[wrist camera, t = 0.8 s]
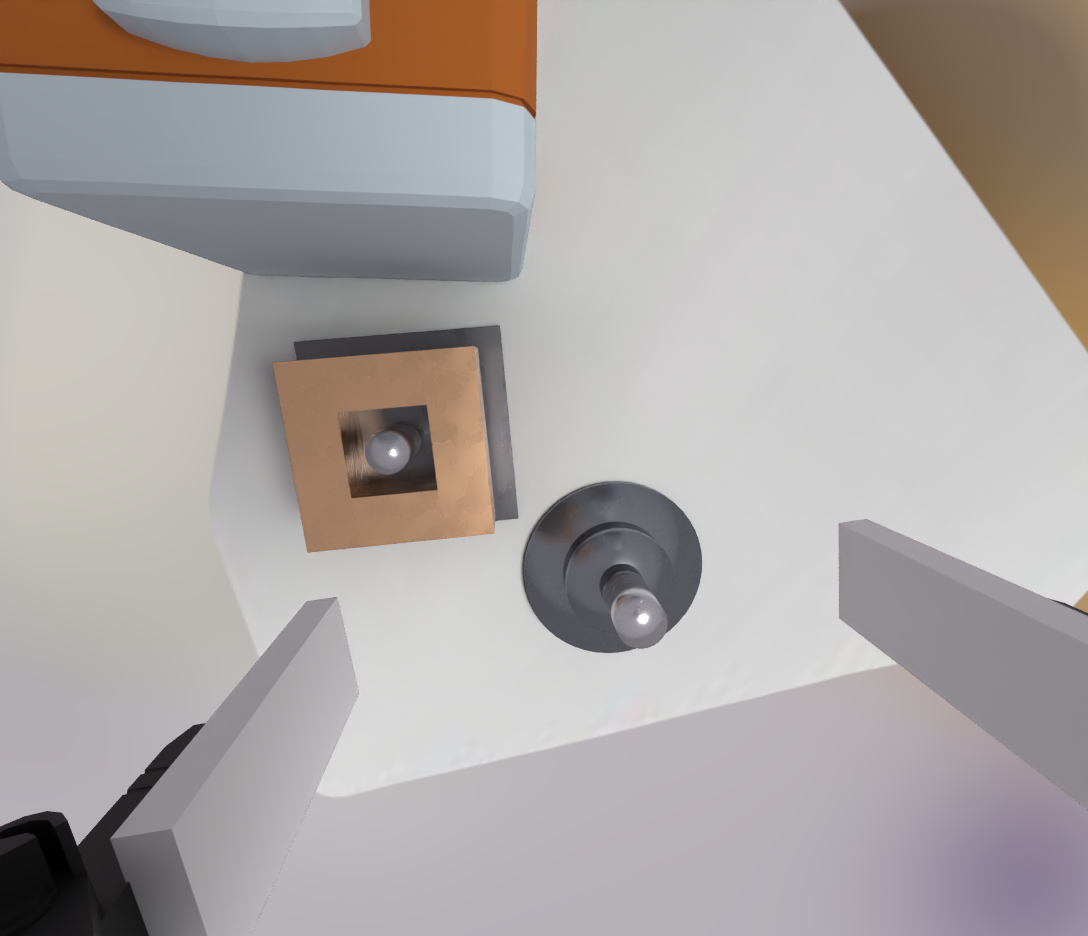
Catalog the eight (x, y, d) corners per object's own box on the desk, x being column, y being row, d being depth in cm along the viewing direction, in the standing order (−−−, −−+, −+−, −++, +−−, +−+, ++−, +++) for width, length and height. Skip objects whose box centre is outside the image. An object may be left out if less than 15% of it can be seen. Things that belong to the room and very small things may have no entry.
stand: (296, 342, 36) (233, 336, 27) (499, 326, 36) (498, 315, 28) (330, 535, 39) (282, 582, 30) (518, 516, 39) (521, 557, 31)
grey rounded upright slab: (522, 144, 34) (545, -164, 14) (521, 283, 36) (541, 184, 16) (231, 131, 33) (-195, -231, 13) (245, 276, 35) (-112, 157, 15)
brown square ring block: (300, 362, 32) (272, 362, 28) (477, 348, 33) (474, 346, 29) (330, 530, 34) (307, 552, 31) (495, 514, 35) (494, 533, 31)
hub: (515, 490, 39) (518, 528, 30) (697, 473, 40) (752, 504, 31) (531, 658, 42) (538, 737, 33) (701, 639, 43) (752, 711, 34)
